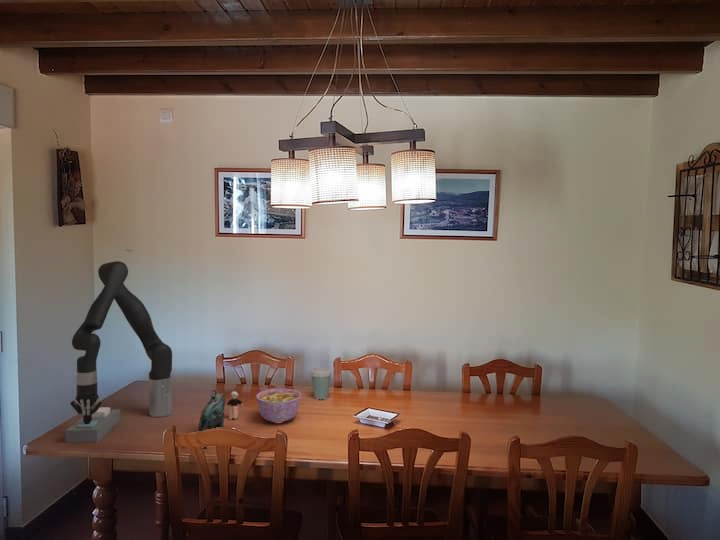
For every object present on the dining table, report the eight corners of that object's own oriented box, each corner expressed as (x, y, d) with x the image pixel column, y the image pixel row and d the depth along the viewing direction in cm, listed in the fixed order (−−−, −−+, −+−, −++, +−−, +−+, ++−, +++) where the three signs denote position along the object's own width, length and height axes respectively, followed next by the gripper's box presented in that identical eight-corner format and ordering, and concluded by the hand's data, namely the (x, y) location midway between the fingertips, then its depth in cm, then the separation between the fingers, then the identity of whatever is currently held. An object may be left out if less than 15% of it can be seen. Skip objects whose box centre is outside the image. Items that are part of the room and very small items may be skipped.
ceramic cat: (214, 429, 223) (214, 384, 222) (229, 430, 223) (229, 384, 221) (195, 448, 203) (195, 398, 202) (211, 449, 203) (211, 399, 201)
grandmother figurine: (227, 421, 233) (227, 393, 232) (225, 418, 236) (225, 391, 235) (244, 418, 236) (244, 391, 235) (241, 416, 240) (241, 389, 239)
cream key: (110, 414, 228) (110, 407, 228) (104, 419, 222) (104, 412, 222) (96, 414, 227) (95, 407, 227) (90, 419, 221) (89, 412, 221)
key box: (120, 420, 231) (119, 409, 231) (97, 442, 207) (96, 430, 207) (92, 420, 230) (91, 409, 230) (65, 442, 207) (65, 430, 206)
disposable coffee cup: (335, 397, 269) (335, 369, 268) (322, 403, 260) (323, 373, 259) (318, 394, 274) (319, 366, 273) (305, 399, 265) (306, 370, 264)
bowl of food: (299, 411, 247) (299, 387, 246) (302, 427, 228) (302, 401, 227) (256, 413, 244) (256, 389, 243) (255, 429, 224) (255, 403, 223)
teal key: (98, 427, 216) (98, 420, 216) (92, 433, 210) (92, 426, 210) (83, 427, 216) (83, 420, 215) (77, 433, 210) (76, 426, 209)
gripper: (107, 379, 215) (108, 420, 217) (74, 379, 214) (75, 420, 216) (99, 384, 208) (100, 426, 209) (65, 384, 207) (66, 426, 208)
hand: (87, 423), depth 213 cm, fingers closed
